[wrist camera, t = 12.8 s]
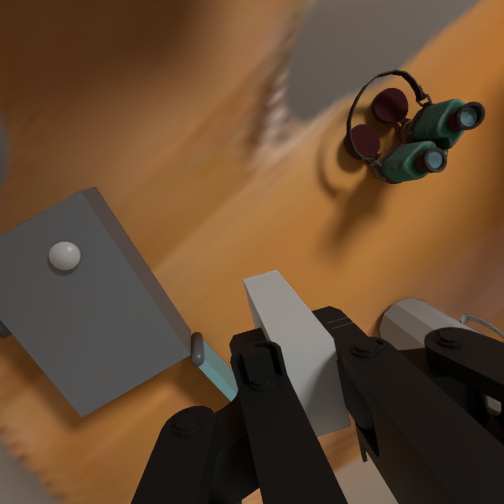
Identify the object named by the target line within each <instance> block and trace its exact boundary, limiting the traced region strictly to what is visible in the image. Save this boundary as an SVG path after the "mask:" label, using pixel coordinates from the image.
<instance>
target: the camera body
mask: <svg viewBox="0 0 504 504" xmlns="http://www.w3.org/2000/svg"><path fill="white" fill-rule="evenodd" d="M11 334H13V336H14V337H15V338H16V339H17V341H18V342H19V343H20V344H21V345H22V347H23V348H24V349H25V350H26V351H27V353H28V354H29V355H30V356H31V357H32V359H33V360H34V361H35V362H36V363H37V365H38V366H39V367H40V368H41V369H42V371H43V372H44V373H45V374H46V375H47V377H48V378H49V379H50V380H51V382H52V383H53V384H54V385H55V386H56V388H57V389H58V390H59V391H60V392H61V394H62V395H63V396H64V397H65V398H66V400H67V401H68V402H69V403H70V404H71V406H72V407H73V408H74V409H75V410H76V412H77V413H78V414H79V415H80V416H81V418H83V417H84V416H86V415H88V414H90V413H91V412H93V411H95V410H96V409H98V408H100V407H102V406H103V405H105V404H107V403H109V402H110V401H112V400H114V399H115V398H117V397H119V396H121V395H122V394H124V393H126V392H128V391H129V390H131V389H133V388H134V387H136V386H138V385H140V384H141V383H143V382H145V381H147V380H148V379H150V378H152V377H154V376H155V375H157V374H159V373H160V372H162V371H164V370H166V369H167V368H169V367H171V366H173V365H174V364H176V363H178V362H179V361H181V360H183V359H185V358H186V357H188V356H190V355H191V331H190V329H189V328H188V326H187V324H186V323H185V321H184V320H183V318H182V317H181V315H180V314H179V312H178V311H177V309H176V308H175V306H174V305H173V303H172V302H171V300H170V299H169V297H168V296H167V294H166V293H165V291H164V290H163V288H162V287H161V285H160V284H159V282H158V281H157V279H156V278H155V276H154V275H153V273H152V271H151V270H150V268H149V267H148V265H147V264H146V262H145V261H144V259H143V258H142V256H141V255H140V253H139V252H138V250H137V249H136V247H135V246H134V244H133V243H132V241H131V240H130V238H129V237H128V235H127V234H126V232H125V231H124V229H123V228H122V226H121V225H120V223H119V222H118V220H117V218H116V217H115V215H114V214H113V212H112V211H111V209H110V208H109V206H108V205H107V203H106V202H105V200H104V199H103V197H102V196H101V194H100V193H99V191H98V190H97V188H96V187H93V188H89V189H85V190H81V191H79V192H77V193H75V194H73V195H72V196H70V197H68V198H66V199H64V200H63V201H61V202H59V203H57V204H55V205H54V206H52V207H50V208H48V209H47V210H45V211H43V212H41V213H39V214H38V215H36V216H34V217H32V218H30V219H29V220H27V221H25V222H23V223H22V224H20V225H18V226H16V227H14V228H13V229H11V230H9V231H7V232H5V233H4V234H2V235H0V338H5V337H7V336H9V335H11Z"/></svg>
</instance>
